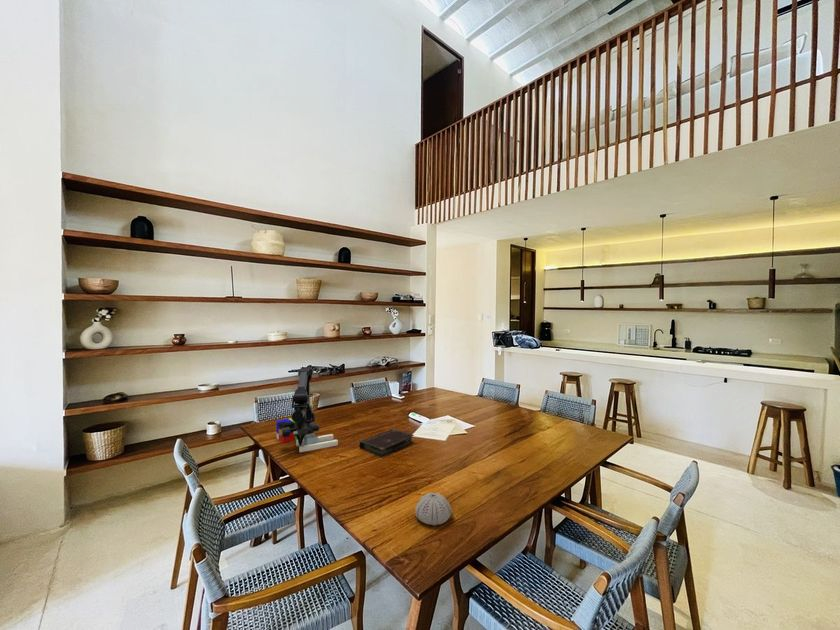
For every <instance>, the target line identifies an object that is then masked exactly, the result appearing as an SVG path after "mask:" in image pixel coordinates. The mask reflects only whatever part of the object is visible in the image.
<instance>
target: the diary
mask: <svg viewBox="0 0 840 630" xmlns="http://www.w3.org/2000/svg"><path fill="white" fill-rule="evenodd" d="M414 436H415V435H414V434H412V433H410V432H406V431H402V430H398V429H394V428H392V429H389V430H387V431H385V432H382V433H378V434H375V435H373V436H371V437H368V438H366V439H362V440H360V441H359V442H358V443H359V445H358V446H359V449H362V450H365V451H368V452H369V453H370V454H373V455H374V456H377V457H378V458H379V457H380V458H384V457H386V456H388V455H391V454H393V453H395V452H397V451H400V450H401V449H404V448H405V447H407V446H410V445H412V444H415V441H414V442H413V437H414Z"/></svg>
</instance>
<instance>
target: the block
mask: <svg viewBox="0 0 840 630" xmlns="http://www.w3.org/2000/svg"><path fill="white" fill-rule="evenodd" d="M318 436H319V435H317V434H316V433H310V434H306V435H305V436H304V438H303V439H304V442H303V445H302V446H304V445H310V444H315V443H319V442H318Z"/></svg>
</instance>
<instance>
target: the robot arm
mask: <svg viewBox="0 0 840 630" xmlns="http://www.w3.org/2000/svg"><path fill="white" fill-rule="evenodd" d="M314 373H315V370H314V368H312V366H305V367H304V366H301V367H300V368H298V369H297V376H299V378H298V385H297V388H296V390H294V392H293V393H294V394H293V395H292V401H291V409H294V410H293V412H292V414H291V418H292V420H293V421H294V422H295V428H292V429H290V428H289V427H285V428H282V429H281V434H282V436H288V435H290V433H291V432H293V435H294V436H296V437H297V440H298V442H299V445H300V446H302V445H301V444H302V441H303V439H304V436H305V435H309V433H310V434H311V433H314V432H319V431H320V425H319V424H318V423H317V422H316V416H315V413H314V410H313V409H314V408H313V407H312V406H311V384H310V383H311V380H312V378H313V376H314Z"/></svg>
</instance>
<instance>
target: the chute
mask: <svg viewBox="0 0 840 630" xmlns="http://www.w3.org/2000/svg"><path fill="white" fill-rule="evenodd" d="M317 436H318V443H315V444H310V445H304V446H303V442H304V438H303V441H302V444H301V445H299V442H298V439H297V440H295V441H296V442H295V445H296V447H298V449H299V450H298V452H299V453H305V452H310V451H314V450H315V451H316V450H320V449H326V448H330V447H331V448H332V447H335V446H336V447H337V446H338V445H339V441H338V439H334V434H333V433H330V434H325V435H317Z"/></svg>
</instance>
